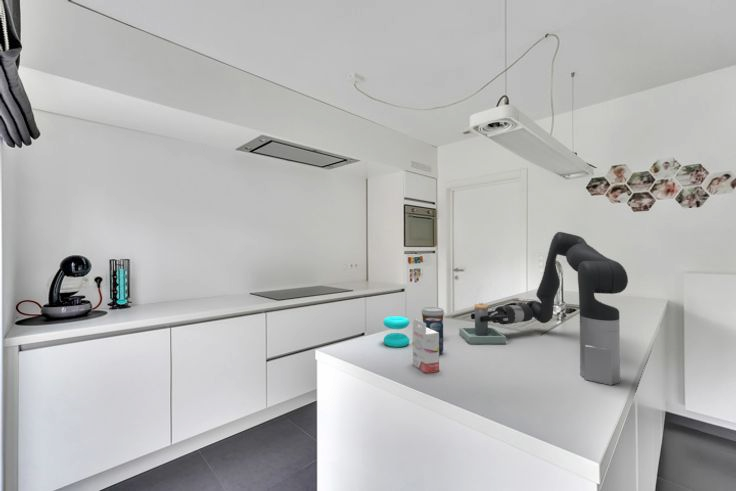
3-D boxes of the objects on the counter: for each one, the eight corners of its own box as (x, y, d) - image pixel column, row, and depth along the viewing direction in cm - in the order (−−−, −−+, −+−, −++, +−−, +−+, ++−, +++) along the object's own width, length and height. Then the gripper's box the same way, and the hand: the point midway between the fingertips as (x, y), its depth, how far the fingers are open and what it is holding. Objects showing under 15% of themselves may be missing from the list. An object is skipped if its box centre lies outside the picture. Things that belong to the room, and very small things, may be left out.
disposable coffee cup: (417, 336, 134) (417, 307, 134) (437, 334, 137) (437, 306, 137) (428, 342, 125) (427, 311, 125) (449, 340, 128) (449, 310, 128)
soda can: (442, 356, 108) (442, 321, 108) (421, 354, 111) (421, 320, 111) (444, 350, 115) (444, 317, 115) (425, 348, 117) (424, 316, 117)
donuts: (390, 314, 130) (413, 317, 125) (390, 339, 130) (413, 342, 125) (378, 319, 122) (402, 322, 116) (378, 345, 121) (402, 349, 116)
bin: (506, 344, 122) (506, 336, 122) (469, 344, 122) (469, 336, 122) (492, 334, 136) (492, 327, 136) (459, 334, 136) (459, 327, 136)
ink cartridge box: (440, 371, 96) (440, 322, 96) (425, 373, 94) (425, 324, 94) (425, 361, 104) (425, 316, 104) (411, 363, 102) (411, 318, 102)
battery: (485, 337, 125) (485, 304, 125) (473, 334, 129) (472, 303, 129) (489, 334, 129) (489, 302, 129) (477, 332, 132) (477, 301, 132)
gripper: (496, 302, 140) (464, 305, 135) (522, 308, 127) (487, 311, 121) (497, 319, 140) (464, 323, 135) (522, 327, 127) (488, 331, 121)
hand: (475, 317), depth 128 cm, fingers closed on battery, 5 cm apart
